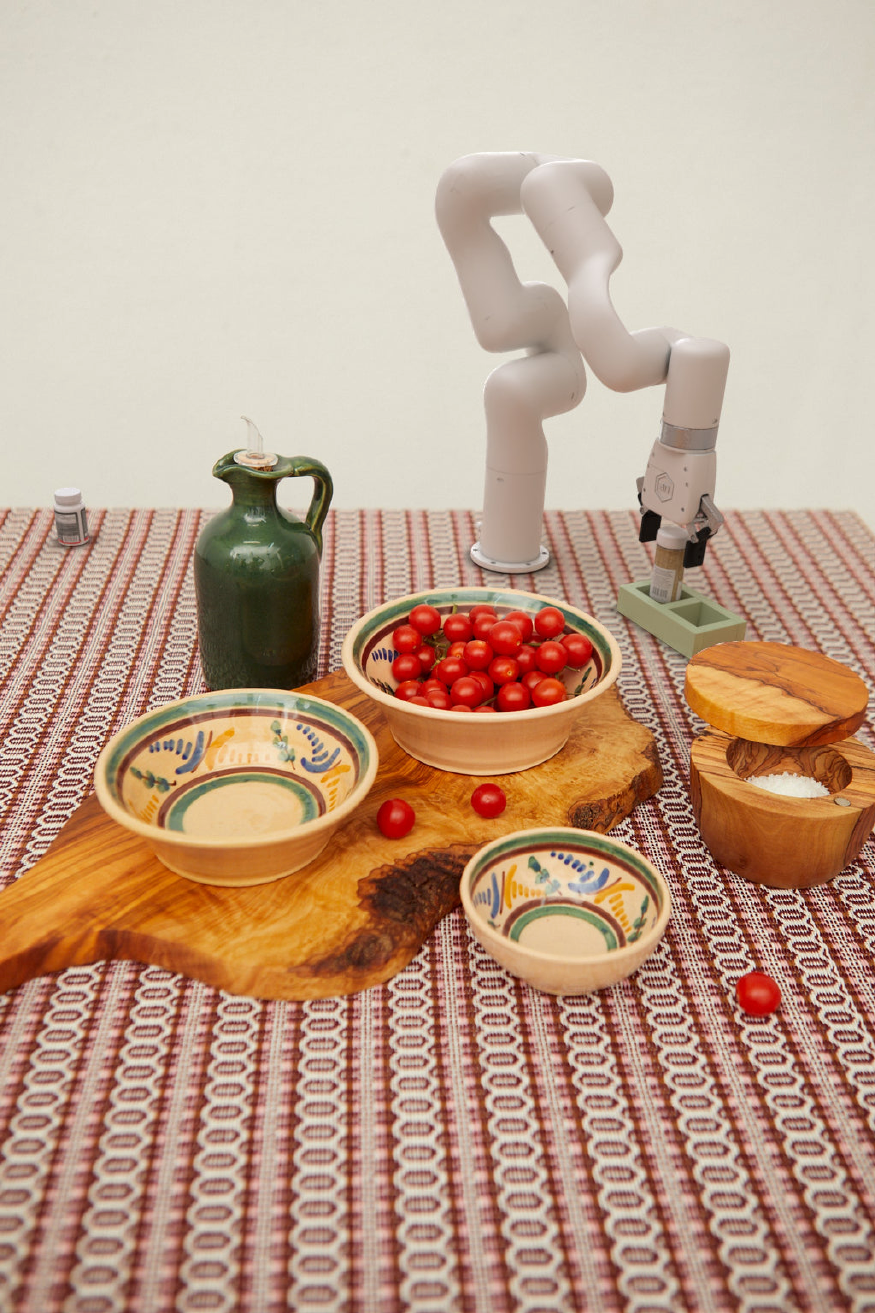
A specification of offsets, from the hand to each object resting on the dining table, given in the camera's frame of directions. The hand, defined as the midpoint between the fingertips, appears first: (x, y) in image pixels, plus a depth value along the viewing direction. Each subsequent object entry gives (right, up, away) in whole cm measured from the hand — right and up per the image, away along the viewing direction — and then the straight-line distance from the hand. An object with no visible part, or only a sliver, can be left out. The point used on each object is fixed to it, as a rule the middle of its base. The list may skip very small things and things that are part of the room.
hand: (670, 553), depth 154 cm
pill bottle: (-91, +4, +21) cm, 94 cm away
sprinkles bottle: (0, -9, +5) cm, 10 cm away
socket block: (+1, -11, +2) cm, 11 cm away
